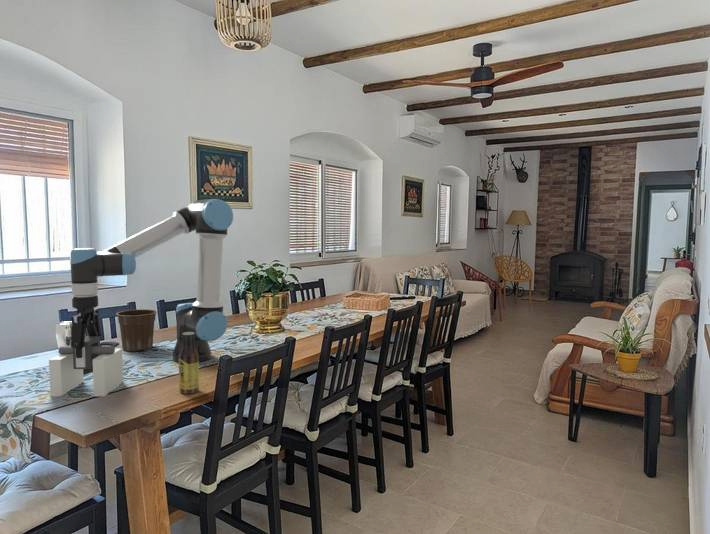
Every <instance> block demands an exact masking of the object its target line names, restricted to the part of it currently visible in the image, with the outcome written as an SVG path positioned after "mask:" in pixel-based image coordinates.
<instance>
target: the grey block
mask: <svg viewBox="0 0 710 534" xmlns="http://www.w3.org/2000/svg"><path fill="white" fill-rule="evenodd" d="M100 343H101V340H100V336H89V335H85V340H84V346H83V347H85V360H86V367H76V352H75V348H73V366H74V369H90V368H92V364H91V363H93V359H95V358H96V357H98V356H100V355H101V354H91V346H100Z"/></svg>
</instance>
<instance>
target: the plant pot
mask: <svg viewBox="0 0 710 534" xmlns="http://www.w3.org/2000/svg"><path fill="white" fill-rule="evenodd" d="M157 313H158V311H157V310H155V309H129V310H123V311H118V312H116V314H115V315H116V316H117V321H118V322H117V323H118V324H119V328H120V338H121V345H122V346H121V347H122V351H126V352H139V351H146V350H151V349H152V348H153V346H154V332H155V331H154V330H155V321H156V315H157Z"/></svg>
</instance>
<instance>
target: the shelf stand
mask: <svg viewBox="0 0 710 534" xmlns="http://www.w3.org/2000/svg"><path fill="white" fill-rule="evenodd" d="M91 354H101V355H100V356H98V357H96V358H95V359H93V370H92V375H93V376H92V377H93V378H92V380H93V383H92V385H93V397H106V396H107V395H109V394H110V393H111V392H113V391H114V390H115V389H116V388H118V387H119V386H120V385H122V384H123V383H124V362H123V361H124V359H123V358H124V357H123V348H121V347H119V348H118V347H117V348H116V347H114V346H91ZM48 370H49V371H48V372H49V390H50V391H49V392H50V393H49V394H50V397H63V396H64V394H65V393H66V394H68V393H69V392H71V391H72V390H74V389H75V388H74V387H76V386H77V387H79V386H80V385H81V383H82V382H83V383H84V382H85V381H84V374H83V369H74V366H73V348H72V347H71V346H60V347H58V355H56V356H53V357H52V358H50V359H48ZM122 382H123V383H122ZM83 383H82V384H83ZM79 384H80V385H79ZM119 384H120V385H119ZM78 385H79V386H78ZM118 385H119V386H118ZM117 386H118V387H117ZM77 387H76V388H77ZM115 387H116V388H115ZM73 388H74V389H73ZM114 388H115V389H114ZM71 389H72V390H71ZM113 389H114V390H113ZM70 390H71V391H70ZM112 390H113V391H112ZM68 391H69V392H68ZM110 391H111V392H110ZM67 392H68V393H67ZM109 392H110V393H109ZM108 393H109V394H108ZM66 394H65V395H66ZM62 395H63V396H62Z"/></svg>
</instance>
